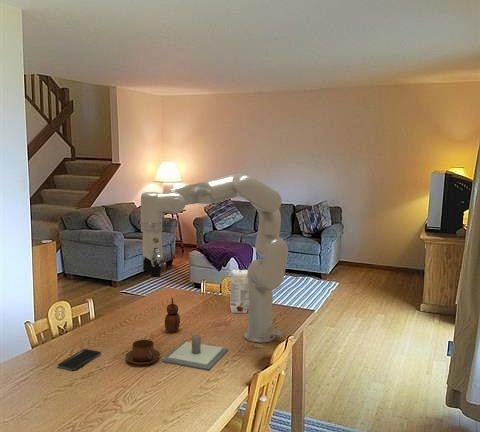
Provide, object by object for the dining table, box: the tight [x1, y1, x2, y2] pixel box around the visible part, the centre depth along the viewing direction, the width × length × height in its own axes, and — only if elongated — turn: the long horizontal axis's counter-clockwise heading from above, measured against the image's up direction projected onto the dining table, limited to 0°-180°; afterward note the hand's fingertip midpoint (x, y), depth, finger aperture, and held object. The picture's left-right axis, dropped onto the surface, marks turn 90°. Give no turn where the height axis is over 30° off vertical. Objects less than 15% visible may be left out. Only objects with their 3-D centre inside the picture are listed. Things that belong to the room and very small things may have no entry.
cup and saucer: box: [125, 339, 161, 366], centre depth 173 cm, size 12×12×6 cm
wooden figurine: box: [164, 296, 181, 333], centre depth 199 cm, size 7×6×15 cm
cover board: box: [168, 334, 224, 366], centre depth 177 cm, size 15×15×7 cm
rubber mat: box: [161, 341, 229, 372], centre depth 177 cm, size 18×18×1 cm
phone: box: [57, 348, 102, 372], centre depth 171 cm, size 8×1×15 cm
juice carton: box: [229, 269, 249, 314], centre depth 225 cm, size 8×9×19 cm
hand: (151, 273), depth 176 cm, fingers open, 9 cm apart
